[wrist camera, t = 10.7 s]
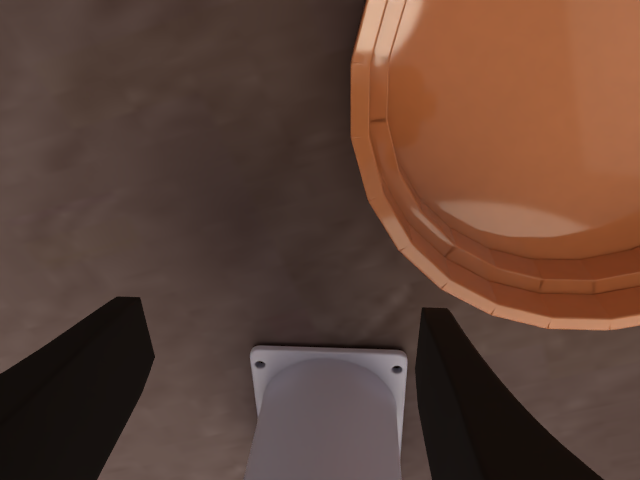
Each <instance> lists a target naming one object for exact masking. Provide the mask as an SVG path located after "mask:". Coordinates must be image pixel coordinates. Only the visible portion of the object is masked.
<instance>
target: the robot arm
mask: <svg viewBox="0 0 640 480" xmlns="http://www.w3.org/2000/svg"><path fill="white" fill-rule="evenodd" d="M154 358H155V355H154V351H153V347H152V343H151V339H150V335H149V331H148V327H147V323H146V319H145V315H144V311H143V307H142V303H141V299H140V297H116V298H114V299H113V300H111V301H109V302H108V303H106V304H105V305H103V306H102V307H100V308H99V309H97V310H96V311H95V312H93V313H92V314H90V315H89V316H87V317H86V318H84V319H83V320H82V321H80V322H79V323H77V324H76V325H74V326H73V327H72V328H70V329H69V330H67V331H66V332H64V333H63V334H61V335H60V336H58V337H57V338H56V339H54V340H53V341H51V342H50V343H48V344H47V345H45V346H44V347H42V348H41V349H39V350H38V351H36V352H34V353H33V354H31V355H30V356H28V357H27V358H25V359H23V360H22V361H20V362H19V363H17V364H16V365H14V366H12V367H11V368H9V369H8V370H6V371H5V372H3V373H1V374H0V480H97V479H98V477H99V475H100V473H101V471H102V469H103V467H104V465H105V463H106V461H107V459H108V457H109V455H110V453H111V452H112V450H113V448H114V446H115V444H116V442H117V440H118V438H119V436H120V434H121V433H122V431H123V429H124V427H125V425H126V423H127V421H128V419H129V417H130V415H131V413H132V411H133V409H134V408H135V406H136V404H137V402H138V400H139V398H140V396H141V394H142V391H143V389H144V386H145V383H146V381H147V378H148V375H149V373H150V370H151V367H152V364H153V361H154ZM250 361H251V369H252V377H253V384H254V392H255V400H256V408H257V416H258V421H257V425H256V430H255V434H254V438H253V442H252V446H251V450H250V455H249V459H248V463H247V467H246V471H245V475H244V480H401V467H400V454H401V441H402V428H403V415H404V402H405V389H406V376H407V363H408V361H407V355H406V353H405V352H403V351H401V350H387V349H356V348H325V347H294V346H263V345H259V346H255V347H253V348H252V350H251V353H250ZM258 361H262V362H264V363H259V362H258ZM394 366H400V367H399V368H394ZM415 374H416V388H417V400H418V409H419V415H420V420H421V425H422V430H423V436H424V441H425V446H426V451H427V456H428V461H429V466H430V472H431V477H432V480H604V479H602V478H601V477H600V476H599V475H597V474H596V473H595V472H594V471H593V470H591V469H590V468H589V467H588V466H587V465H586V464H584V463H583V462H582V461H581V460H580V459H578V458H577V457H576V456H575V455H574V454H572V453H571V452H570V451H569V450H568V449H567V448H565V447H564V446H563V445H562V444H561V443H560V442H559V441H558V440H557V439H555V438H554V437H553V436H552V435H551V434H550V433H549V432H548V431H547V430H546V429H545V428H544V427H543V426H542V425H541V424H540V423H539V422H538V421H537V420H536V419H535V418H534V417H533V416H532V415H531V414H530V413H529V412H528V411H527V410H526V409H525V408H524V407H523V406H522V404H521V403H520V402H519V401H518V400H517V399H516V398H515V397H514V396H513V394H512V393H511V392H510V391H509V390H508V389H507V388H506V386H505V385H504V384H503V383H502V382H501V381H500V379H499V378H498V377H497V376H496V374H495V373H494V372H493V371H492V369H491V368H490V367H489V366H488V364H487V363H486V362H485V360H484V359H483V358H482V357H481V355H480V354H479V353H478V351H477V350H476V349H475V347H474V346H473V344H472V343H471V342H470V340H469V339H468V337H467V336H466V334H465V333H464V332H463V330H462V329H461V327H460V326H459V324H458V323H457V321H456V319H455V318H454V316H453V315H452V313H451V312H450V311H449V310H448V309H447V308H422V312H421V321H420V330H419V339H418V348H417V357H416V365H415Z"/></svg>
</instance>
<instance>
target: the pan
mask: <svg viewBox="0 0 640 480" xmlns="http://www.w3.org/2000/svg"><path fill="white" fill-rule="evenodd" d="M350 136H351V141H352V145H353V148H354V152H355V156H356V159H357V163H358V167H359V170H360V174H361V178H362V181H363V185H364V189H365V192H366V196H367V199H368V202H369V203H370V205H371V207H372V208H373V210H374V212H375V213H376V215H377V216H378V218H379V220H380V221H381V223H382V225H383V226H384V228H385V230H386V231H387V233H388V235H389V236H390V238H391V239H392V241H393V243H394V244H395V246H396V248H397V249H398V250H399V251H400V252H401V253H402V254H403V255H404V256H405V257H406V258H407V259H408V260H409V261H410V262H411V263H412V264H414V265H415V266H416V267H417V268H418V269H419V270H420V271H421V272H422V273H423V274H424V275H426V276H427V277H428V278H429V279H430V280H431V281H432V282H433V283H434V284H435V285H436V286H437V287H439V288H441V290H443V291H445V292H447V293H449V294H451V295H453V296H455V297H457V298H459V299H461V300H462V301H464V302H466V303H468V304H470V305H472V306H474V307H476V308H478V309H480V310H482V311H484V312H486V313H488V314H491V315H493V316H497V317H501V318H505V319H509V320H513V321H517V322H521V323H525V324H529V325H534V326H538V327H542V328H548V329H572V330H615V329H622V328H628V327H634V326H640V0H365V3H364V7H363V11H362V14H361V18H360V22H359V26H358V30H357V34H356V38H355V42H354V46H353V52H352V58H351V114H350Z"/></svg>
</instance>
